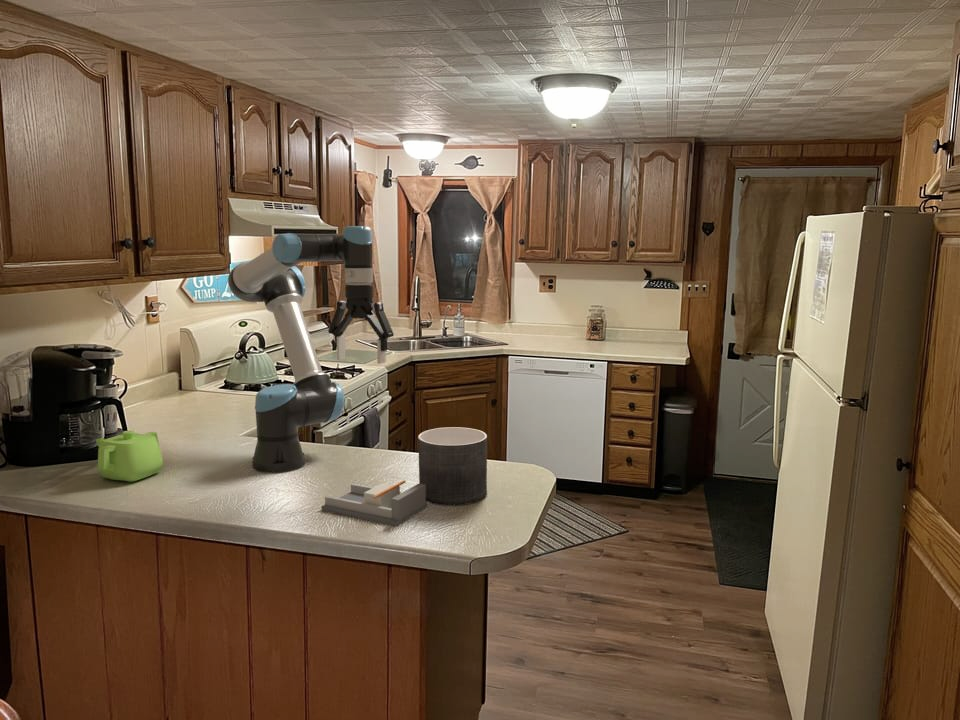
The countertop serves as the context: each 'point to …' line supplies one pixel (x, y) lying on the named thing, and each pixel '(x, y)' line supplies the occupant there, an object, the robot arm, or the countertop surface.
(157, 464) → the teapot
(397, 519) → the gauge base
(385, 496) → the cream box orange strip
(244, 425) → the countertop surface
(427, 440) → the planter
